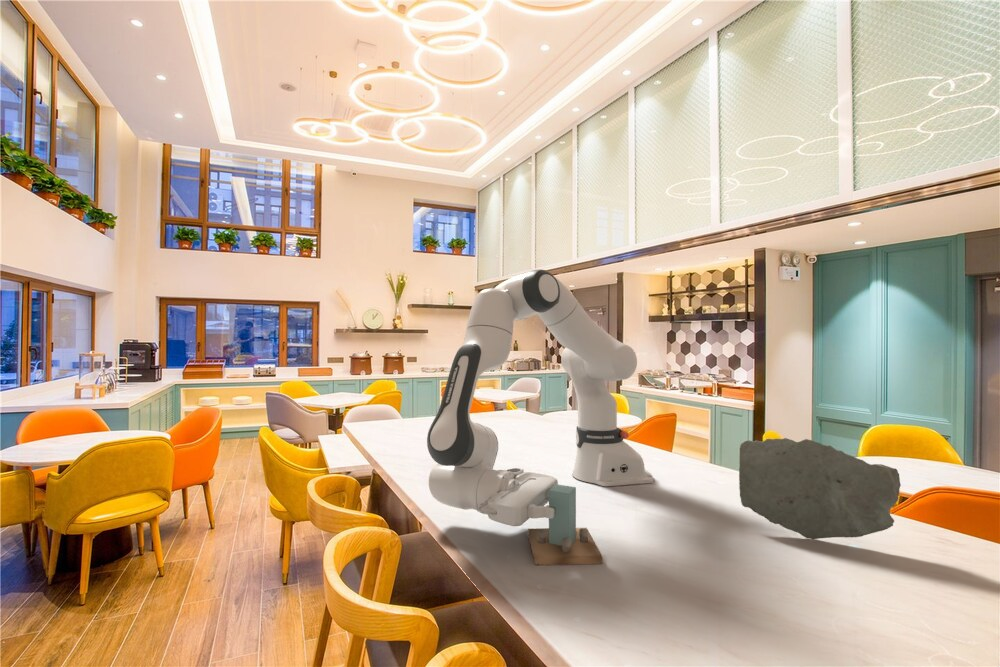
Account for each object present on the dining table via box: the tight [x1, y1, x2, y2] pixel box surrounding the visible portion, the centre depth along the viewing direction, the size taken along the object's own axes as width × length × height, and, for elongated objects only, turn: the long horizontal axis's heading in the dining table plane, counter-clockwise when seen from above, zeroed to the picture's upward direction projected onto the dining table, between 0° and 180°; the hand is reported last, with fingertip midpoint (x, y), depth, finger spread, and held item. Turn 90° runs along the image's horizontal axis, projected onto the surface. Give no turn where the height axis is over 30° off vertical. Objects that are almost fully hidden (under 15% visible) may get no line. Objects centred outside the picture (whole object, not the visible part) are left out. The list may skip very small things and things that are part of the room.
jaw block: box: [548, 483, 577, 546], centre depth 89 cm, size 4×4×10 cm
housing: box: [527, 527, 603, 566], centre depth 89 cm, size 12×12×4 cm
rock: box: [738, 437, 902, 540], centre depth 93 cm, size 27×6×20 cm, turn 61°
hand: (563, 504), depth 89 cm, fingers open, 8 cm apart
